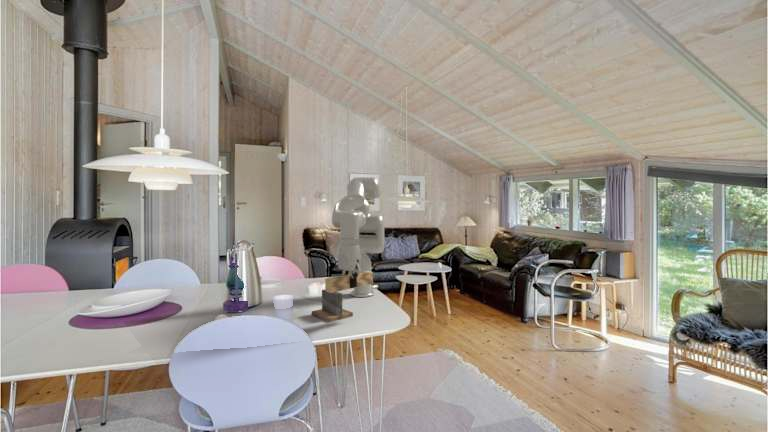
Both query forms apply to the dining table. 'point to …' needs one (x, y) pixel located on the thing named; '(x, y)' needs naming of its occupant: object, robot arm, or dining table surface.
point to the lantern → (234, 288)
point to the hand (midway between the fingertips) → (350, 286)
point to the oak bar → (347, 282)
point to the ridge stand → (332, 307)
